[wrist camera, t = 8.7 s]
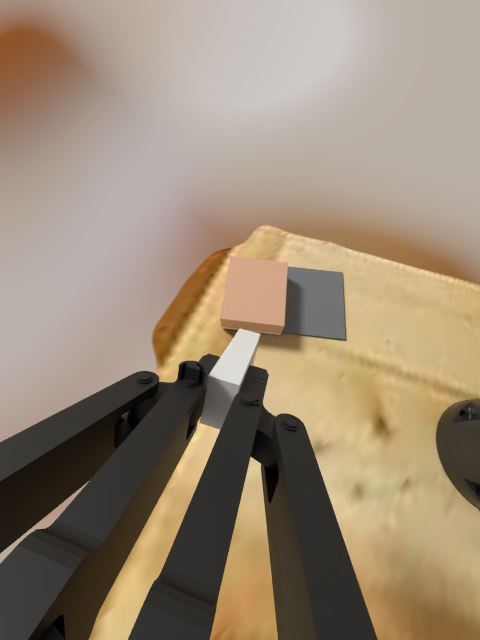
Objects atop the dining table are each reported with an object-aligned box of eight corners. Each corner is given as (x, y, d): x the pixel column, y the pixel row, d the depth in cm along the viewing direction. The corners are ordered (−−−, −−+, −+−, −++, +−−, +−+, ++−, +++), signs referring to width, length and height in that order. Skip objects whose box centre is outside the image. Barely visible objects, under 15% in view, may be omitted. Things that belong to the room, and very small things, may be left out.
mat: (344, 339, 43) (345, 339, 43) (228, 326, 44) (228, 325, 44) (341, 273, 49) (342, 272, 48) (237, 262, 49) (237, 261, 49)
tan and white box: (284, 326, 40) (287, 262, 44) (220, 318, 40) (230, 256, 45) (280, 335, 43) (283, 275, 48) (221, 328, 44) (231, 269, 48)
